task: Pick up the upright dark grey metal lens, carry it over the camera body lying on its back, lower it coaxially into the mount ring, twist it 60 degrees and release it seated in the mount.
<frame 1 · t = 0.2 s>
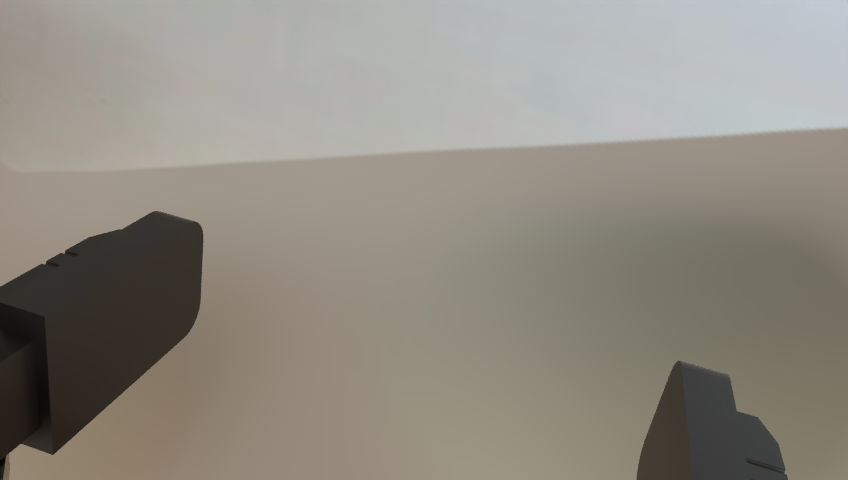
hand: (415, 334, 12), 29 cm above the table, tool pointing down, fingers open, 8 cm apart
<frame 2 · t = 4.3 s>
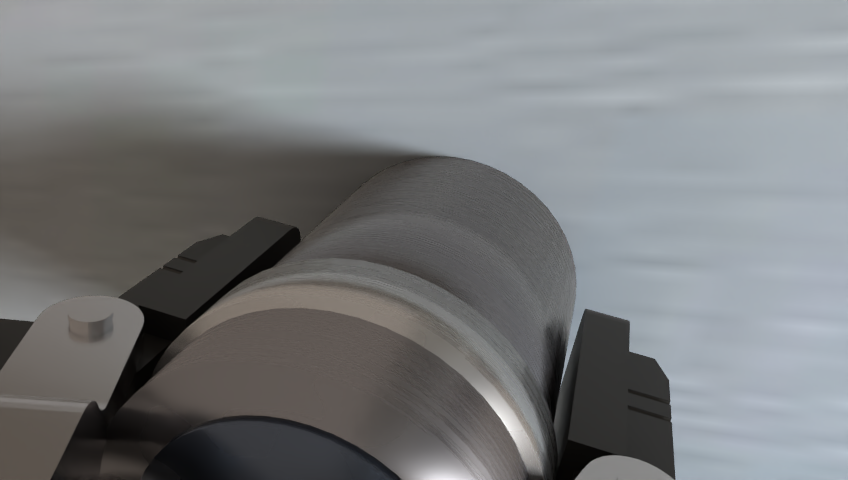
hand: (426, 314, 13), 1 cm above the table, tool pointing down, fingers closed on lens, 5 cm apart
lens: (447, 279, 14), on the table, touching gripper
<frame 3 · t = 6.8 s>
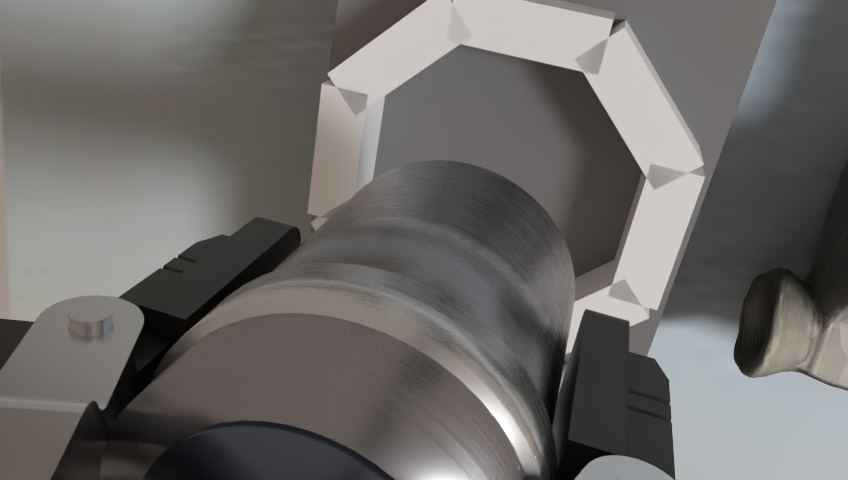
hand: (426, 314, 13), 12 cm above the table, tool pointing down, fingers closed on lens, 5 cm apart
camera body: (526, 130, 24), on the table
lens: (446, 282, 14), point 11 cm above the table, touching gripper
when the fingers open (7 cm above the table, at t = 9.2 s): lens stays where it is, resting on camera body.
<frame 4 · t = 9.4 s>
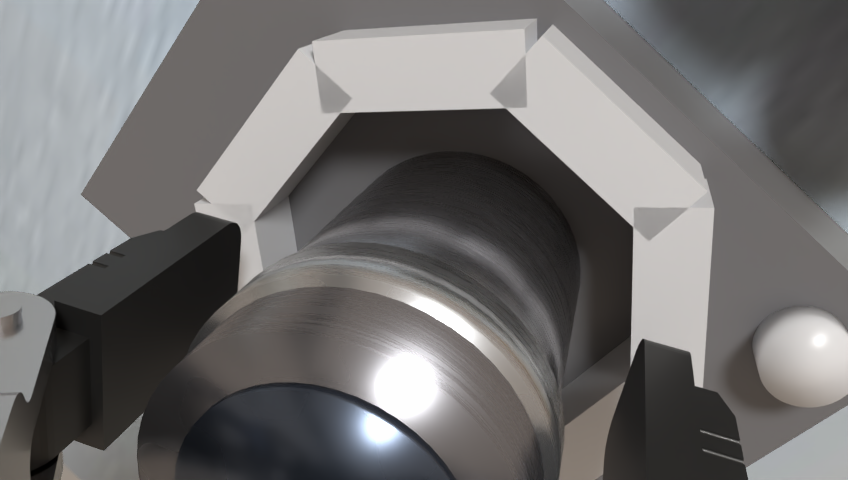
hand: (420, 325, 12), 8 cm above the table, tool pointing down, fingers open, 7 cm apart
camera body: (497, 186, 19), on the table
lens: (457, 268, 15), point 5 cm above the table, touching camera body
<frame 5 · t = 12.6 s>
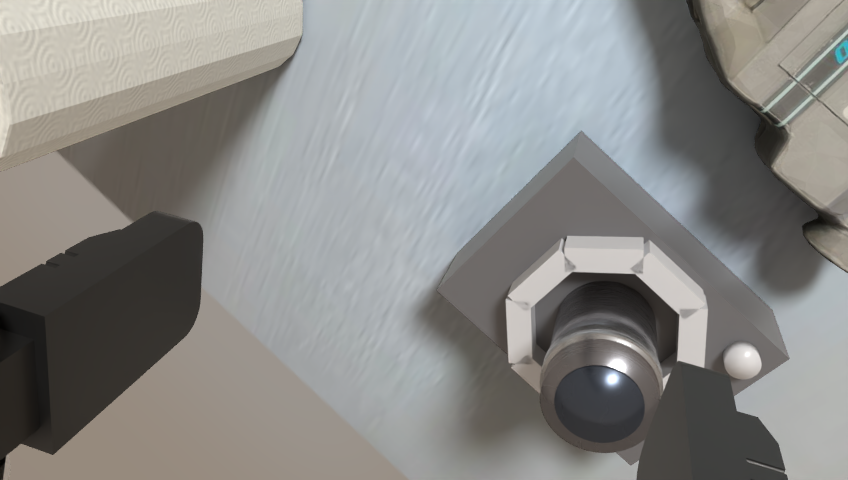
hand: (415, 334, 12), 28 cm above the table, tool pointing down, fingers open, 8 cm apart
paper towel roll: (265, 9, 40), on the table
camera body: (608, 280, 41), on the table
lens: (605, 325, 36), point 5 cm above the table, touching camera body
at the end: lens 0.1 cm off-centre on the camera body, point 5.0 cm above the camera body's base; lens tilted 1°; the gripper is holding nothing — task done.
